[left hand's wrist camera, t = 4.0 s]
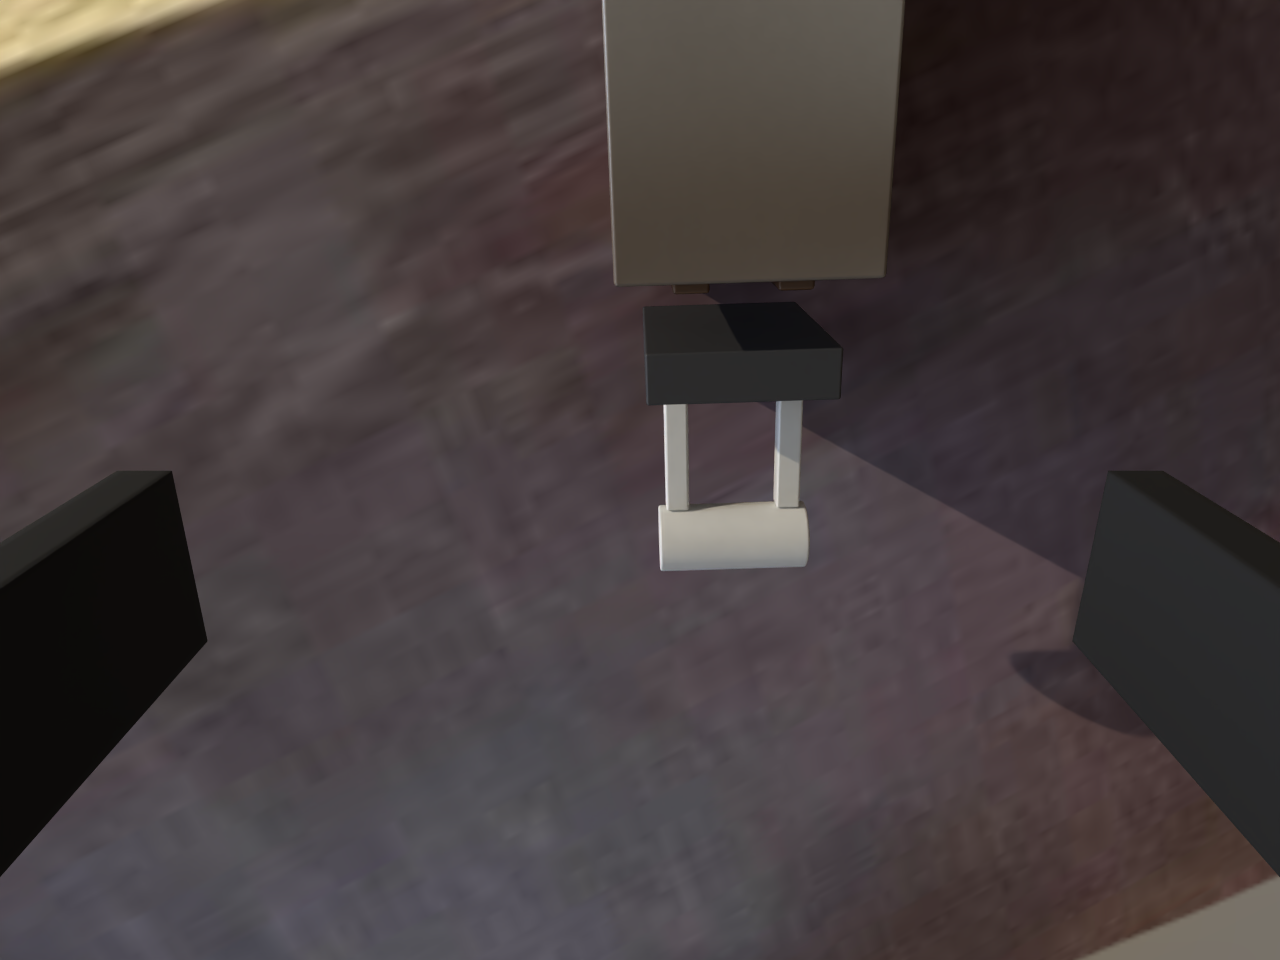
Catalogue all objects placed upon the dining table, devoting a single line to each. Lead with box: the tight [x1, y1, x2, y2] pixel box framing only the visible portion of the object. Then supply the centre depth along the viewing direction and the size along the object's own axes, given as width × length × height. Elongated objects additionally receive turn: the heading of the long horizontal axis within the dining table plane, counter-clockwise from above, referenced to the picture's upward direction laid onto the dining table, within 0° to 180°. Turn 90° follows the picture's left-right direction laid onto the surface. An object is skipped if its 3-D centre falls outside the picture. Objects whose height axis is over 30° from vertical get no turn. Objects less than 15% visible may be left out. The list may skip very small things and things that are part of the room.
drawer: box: [643, 280, 843, 571], centre depth 20 cm, size 24×4×6 cm, turn 2°
